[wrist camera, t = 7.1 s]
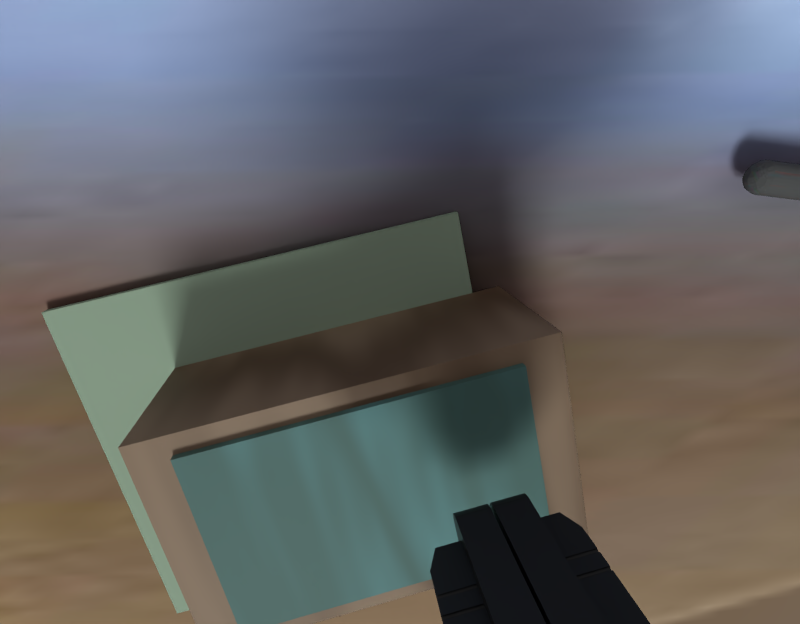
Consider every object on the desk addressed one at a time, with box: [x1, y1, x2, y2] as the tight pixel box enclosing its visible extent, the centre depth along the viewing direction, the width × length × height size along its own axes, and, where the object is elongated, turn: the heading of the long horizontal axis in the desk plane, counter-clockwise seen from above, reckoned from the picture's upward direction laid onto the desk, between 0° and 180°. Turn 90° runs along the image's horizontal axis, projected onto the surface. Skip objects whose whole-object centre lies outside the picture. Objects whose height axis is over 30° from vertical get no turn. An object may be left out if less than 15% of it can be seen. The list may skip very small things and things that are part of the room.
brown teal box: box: [118, 286, 588, 624], centre depth 14 cm, size 5×6×10 cm
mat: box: [42, 212, 472, 613], centre depth 17 cm, size 12×11×1 cm
